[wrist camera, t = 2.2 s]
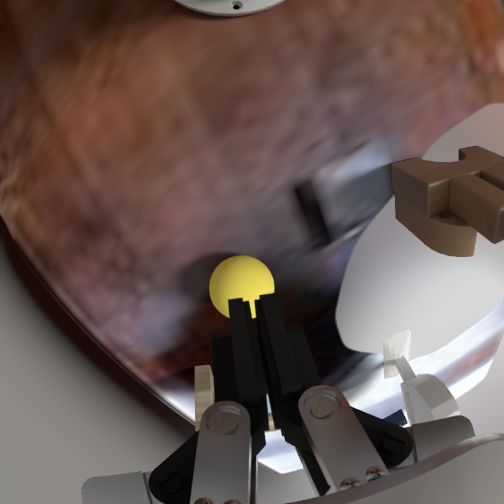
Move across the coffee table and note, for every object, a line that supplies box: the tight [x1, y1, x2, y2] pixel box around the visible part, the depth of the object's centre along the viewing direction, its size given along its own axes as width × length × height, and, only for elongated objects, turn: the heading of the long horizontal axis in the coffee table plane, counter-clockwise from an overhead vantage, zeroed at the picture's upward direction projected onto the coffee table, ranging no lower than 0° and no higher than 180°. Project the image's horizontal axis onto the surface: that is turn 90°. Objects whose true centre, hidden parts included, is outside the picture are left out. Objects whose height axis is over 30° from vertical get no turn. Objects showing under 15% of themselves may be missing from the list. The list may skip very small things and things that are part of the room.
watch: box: [383, 409, 407, 427], centre depth 53 cm, size 6×8×11 cm
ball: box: [209, 255, 274, 318], centre depth 27 cm, size 6×6×6 cm
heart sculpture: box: [383, 330, 460, 425], centre depth 35 cm, size 16×5×18 cm, turn 21°
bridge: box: [195, 365, 281, 433], centre depth 34 cm, size 3×15×10 cm, turn 95°
